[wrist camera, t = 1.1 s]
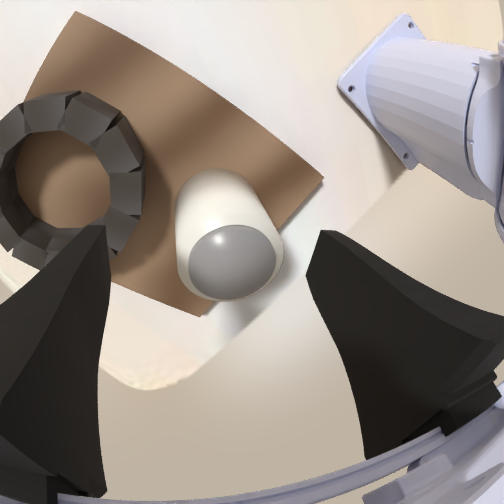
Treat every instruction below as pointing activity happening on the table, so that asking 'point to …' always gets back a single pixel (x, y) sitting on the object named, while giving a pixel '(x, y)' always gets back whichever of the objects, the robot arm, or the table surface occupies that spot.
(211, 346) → the table surface
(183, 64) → the table surface
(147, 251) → the socket board
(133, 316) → the table surface
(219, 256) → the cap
